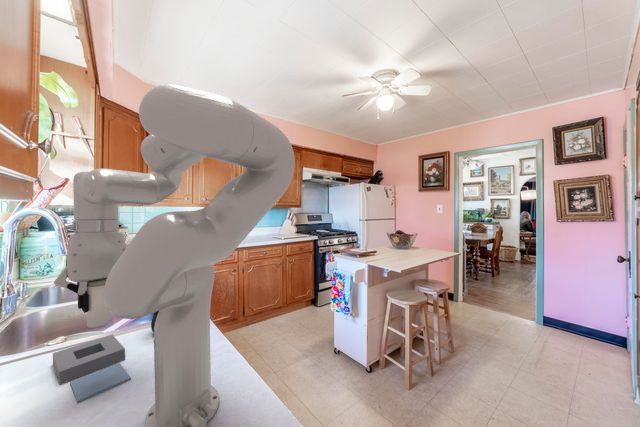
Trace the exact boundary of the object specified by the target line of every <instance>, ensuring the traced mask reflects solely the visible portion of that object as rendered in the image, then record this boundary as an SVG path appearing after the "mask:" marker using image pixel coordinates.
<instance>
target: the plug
mask: <svg viewBox="0 0 640 427" xmlns="http://www.w3.org/2000/svg"><path fill="white" fill-rule="evenodd" d="M106 280H107V278H101V279H95V280H89V281H88V282H87V286H86V291H87V293H88V297H89V311H88V312H86V327H88V328H96V327H101V326H104V325H107V324H108V323H110V322H111V311H110V310H109V309H108V307H107V305H106V303H105V298H104V288H105V283H106Z"/></svg>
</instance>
